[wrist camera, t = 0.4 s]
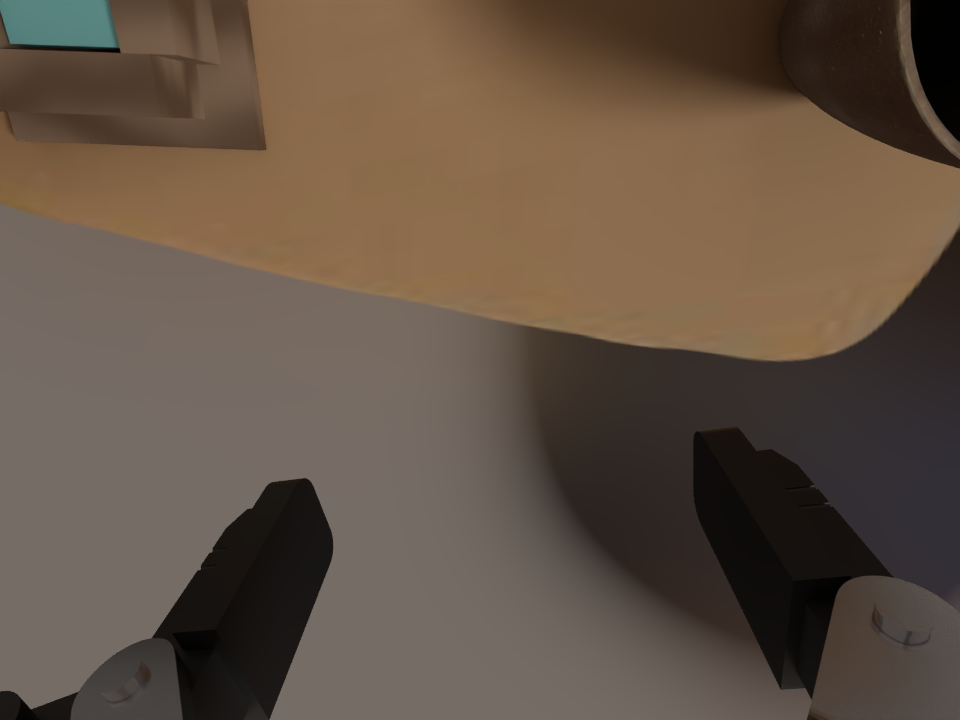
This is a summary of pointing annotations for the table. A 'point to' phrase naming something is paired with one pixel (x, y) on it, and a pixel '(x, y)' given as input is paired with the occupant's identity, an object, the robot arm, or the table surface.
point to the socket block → (142, 81)
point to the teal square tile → (60, 23)
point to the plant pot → (881, 68)
